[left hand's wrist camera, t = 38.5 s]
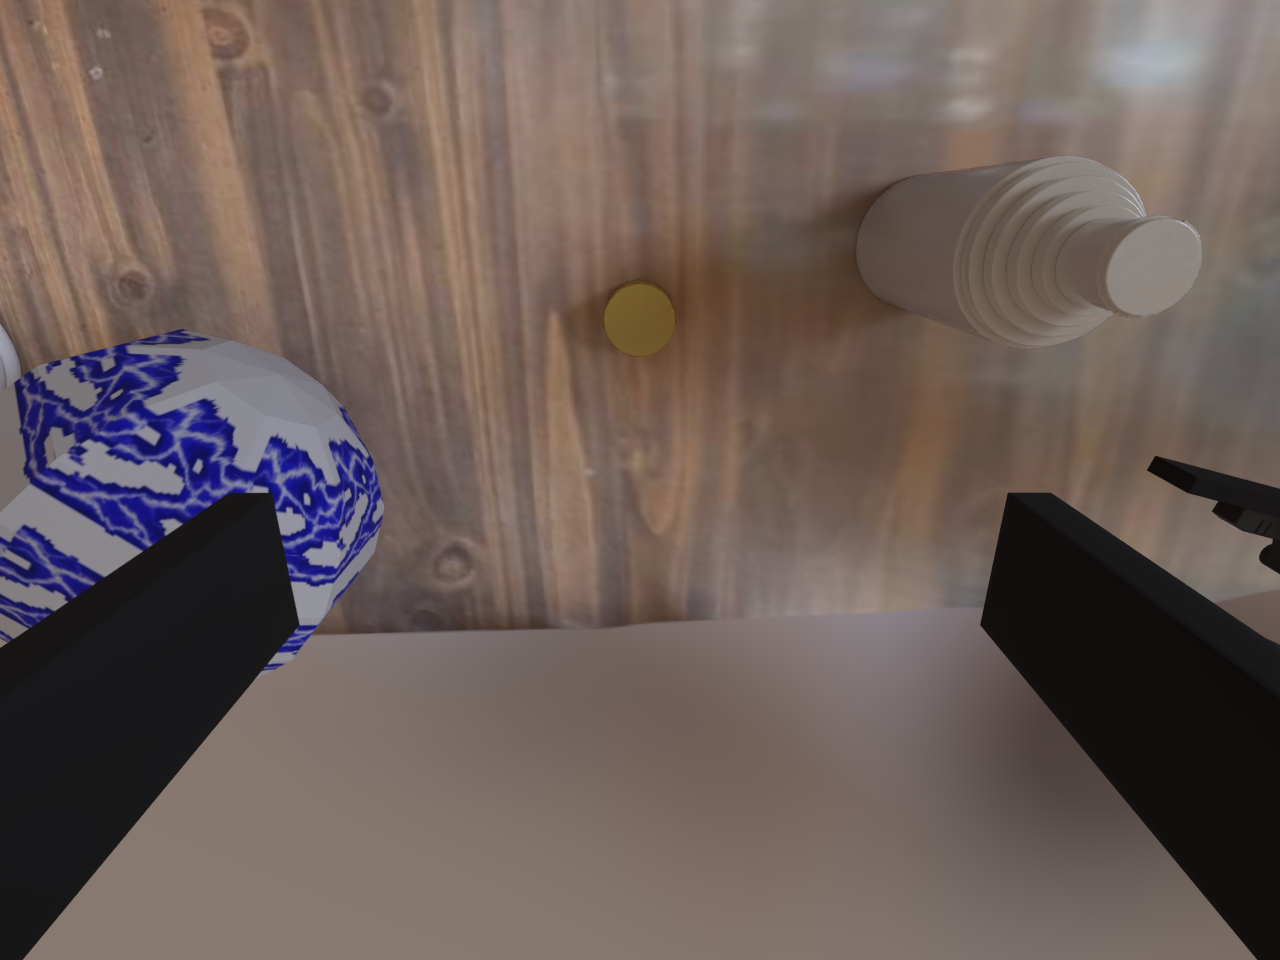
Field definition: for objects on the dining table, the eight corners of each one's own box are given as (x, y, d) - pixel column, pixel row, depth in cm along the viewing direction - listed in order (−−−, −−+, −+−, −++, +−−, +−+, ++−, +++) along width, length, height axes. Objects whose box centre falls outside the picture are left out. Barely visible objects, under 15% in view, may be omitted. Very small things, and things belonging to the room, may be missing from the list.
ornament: (464, 561, 33) (266, 807, 39) (435, 382, 49) (296, 576, 54) (-62, 355, 22) (-235, 742, 28) (115, 206, 38) (-19, 474, 43)
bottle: (924, 332, 44) (1145, 423, 25) (829, 262, 42) (986, 303, 23) (1010, 224, 41) (1327, 232, 22) (913, 146, 40) (1164, 84, 21)
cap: (676, 280, 43) (678, 284, 40) (672, 351, 44) (674, 359, 42) (605, 277, 43) (603, 281, 40) (604, 349, 44) (602, 356, 42)
